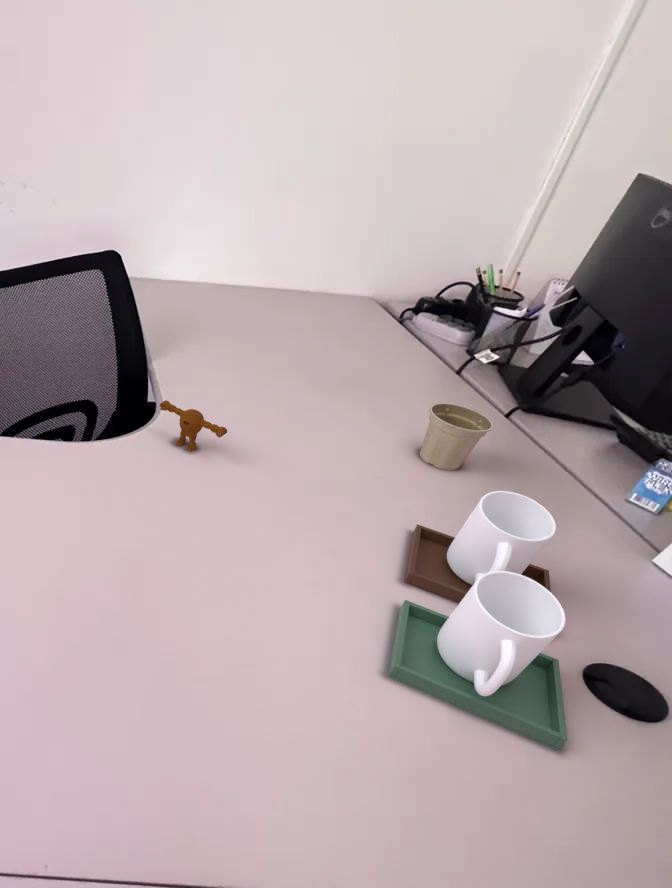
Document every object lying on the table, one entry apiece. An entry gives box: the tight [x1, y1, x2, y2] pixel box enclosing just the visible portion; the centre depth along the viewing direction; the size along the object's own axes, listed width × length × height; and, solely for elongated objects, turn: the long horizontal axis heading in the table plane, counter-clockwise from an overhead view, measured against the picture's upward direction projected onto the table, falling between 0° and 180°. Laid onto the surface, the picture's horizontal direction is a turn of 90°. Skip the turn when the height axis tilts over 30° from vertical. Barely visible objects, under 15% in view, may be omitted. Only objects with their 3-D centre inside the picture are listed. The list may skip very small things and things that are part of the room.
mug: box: [447, 490, 557, 586], centre depth 84 cm, size 12×8×10 cm
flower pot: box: [419, 402, 495, 471], centre depth 112 cm, size 9×9×9 cm
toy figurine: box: [159, 400, 228, 452], centre depth 108 cm, size 12×4×7 cm, turn 47°
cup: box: [437, 571, 566, 696], centre depth 71 cm, size 8×12×10 cm
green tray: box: [387, 599, 568, 751], centre depth 75 cm, size 16×12×2 cm
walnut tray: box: [403, 524, 552, 604], centre depth 88 cm, size 16×12×2 cm
